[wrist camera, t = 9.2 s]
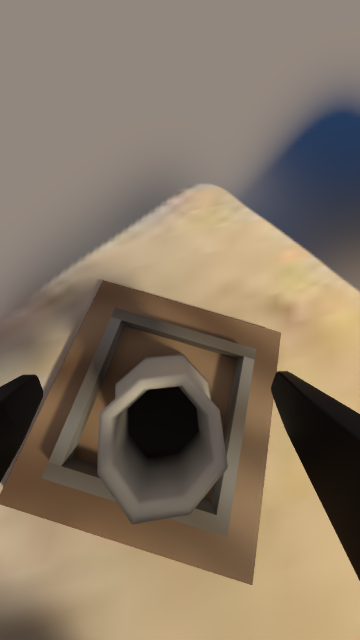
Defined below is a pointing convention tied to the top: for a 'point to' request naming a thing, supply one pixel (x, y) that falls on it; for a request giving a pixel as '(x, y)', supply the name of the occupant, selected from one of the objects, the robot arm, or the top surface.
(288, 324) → the top surface
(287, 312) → the top surface
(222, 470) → the flask
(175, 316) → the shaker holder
